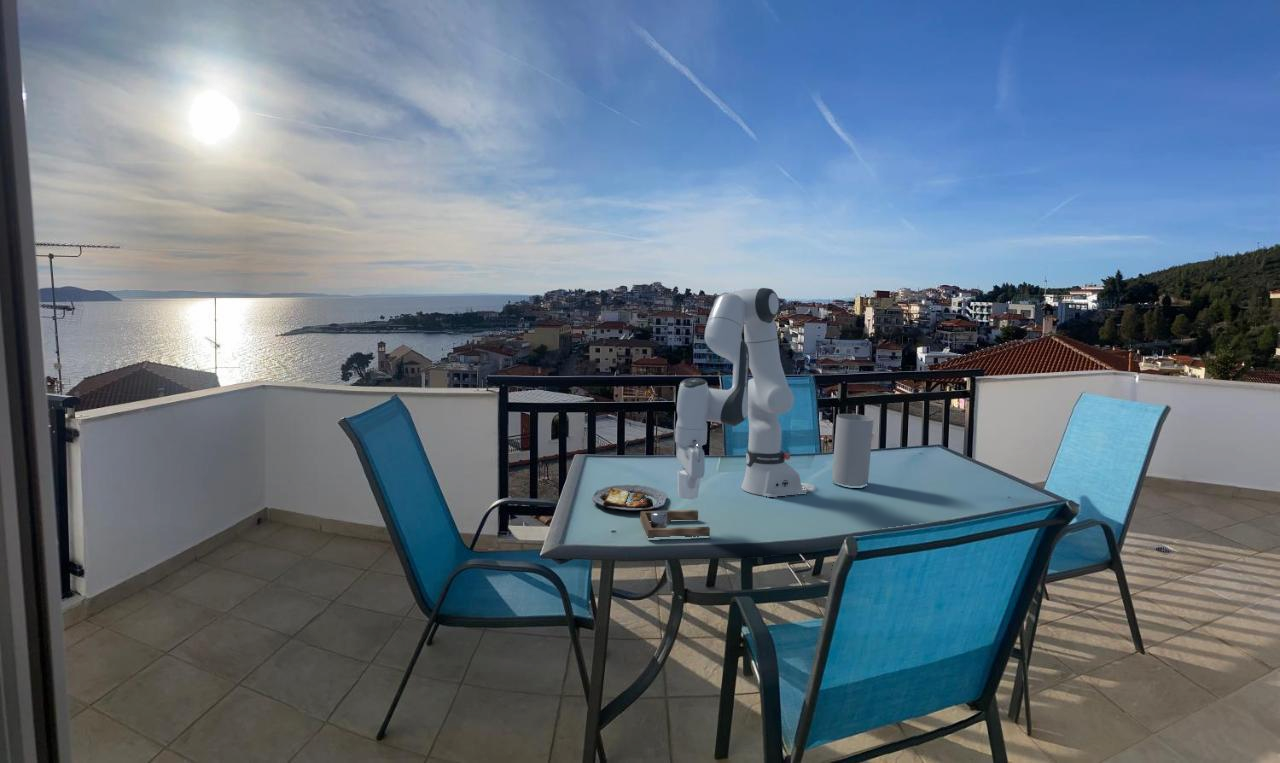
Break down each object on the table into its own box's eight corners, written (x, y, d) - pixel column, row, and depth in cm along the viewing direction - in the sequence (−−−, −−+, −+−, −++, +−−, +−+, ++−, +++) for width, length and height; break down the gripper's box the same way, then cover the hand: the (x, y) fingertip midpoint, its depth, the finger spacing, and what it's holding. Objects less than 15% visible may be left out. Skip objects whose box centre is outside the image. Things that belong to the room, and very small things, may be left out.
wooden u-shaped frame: (696, 519, 179) (697, 509, 179) (709, 538, 165) (709, 528, 164) (640, 521, 176) (640, 511, 176) (648, 540, 162) (648, 530, 162)
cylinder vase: (849, 477, 227) (854, 413, 224) (875, 487, 216) (881, 419, 212) (824, 481, 222) (829, 415, 218) (849, 491, 211) (854, 421, 207)
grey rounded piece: (664, 526, 173) (665, 510, 172) (668, 533, 168) (668, 516, 167) (649, 527, 172) (649, 510, 171) (652, 533, 167) (652, 516, 167)
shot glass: (674, 491, 173) (675, 468, 172) (698, 492, 174) (699, 468, 173) (677, 499, 166) (678, 475, 165) (701, 500, 167) (703, 475, 166)
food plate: (660, 518, 179) (661, 507, 178) (585, 512, 182) (585, 501, 182) (670, 494, 203) (670, 484, 203) (603, 489, 207) (603, 479, 206)
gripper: (711, 445, 158) (708, 495, 160) (693, 428, 178) (691, 473, 180) (688, 445, 157) (685, 496, 159) (673, 428, 177) (671, 473, 179)
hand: (688, 484), depth 170 cm, fingers closed on shot glass, 5 cm apart
